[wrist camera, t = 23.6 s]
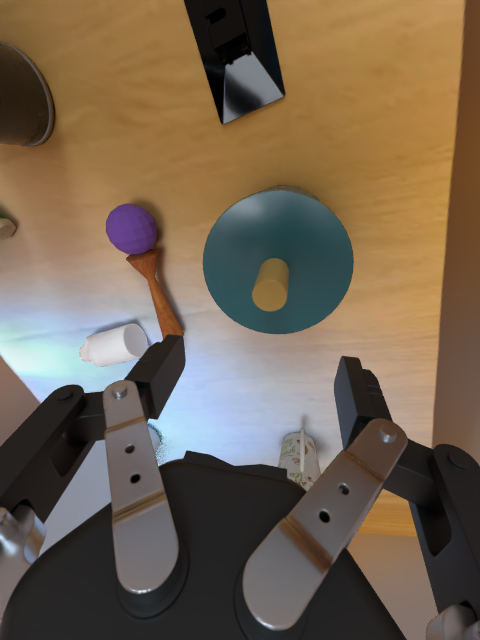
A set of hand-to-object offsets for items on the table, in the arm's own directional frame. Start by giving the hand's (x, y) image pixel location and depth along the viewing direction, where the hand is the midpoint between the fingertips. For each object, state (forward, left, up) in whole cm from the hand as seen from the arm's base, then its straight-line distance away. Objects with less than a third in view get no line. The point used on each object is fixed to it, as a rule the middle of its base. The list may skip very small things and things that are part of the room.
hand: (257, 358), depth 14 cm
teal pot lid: (0, 0, -13) cm, 13 cm away
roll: (-4, -33, -25) cm, 41 cm away
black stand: (-18, +8, -25) cm, 32 cm away
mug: (+32, -20, -25) cm, 45 cm away
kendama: (-7, -17, -25) cm, 31 cm away
